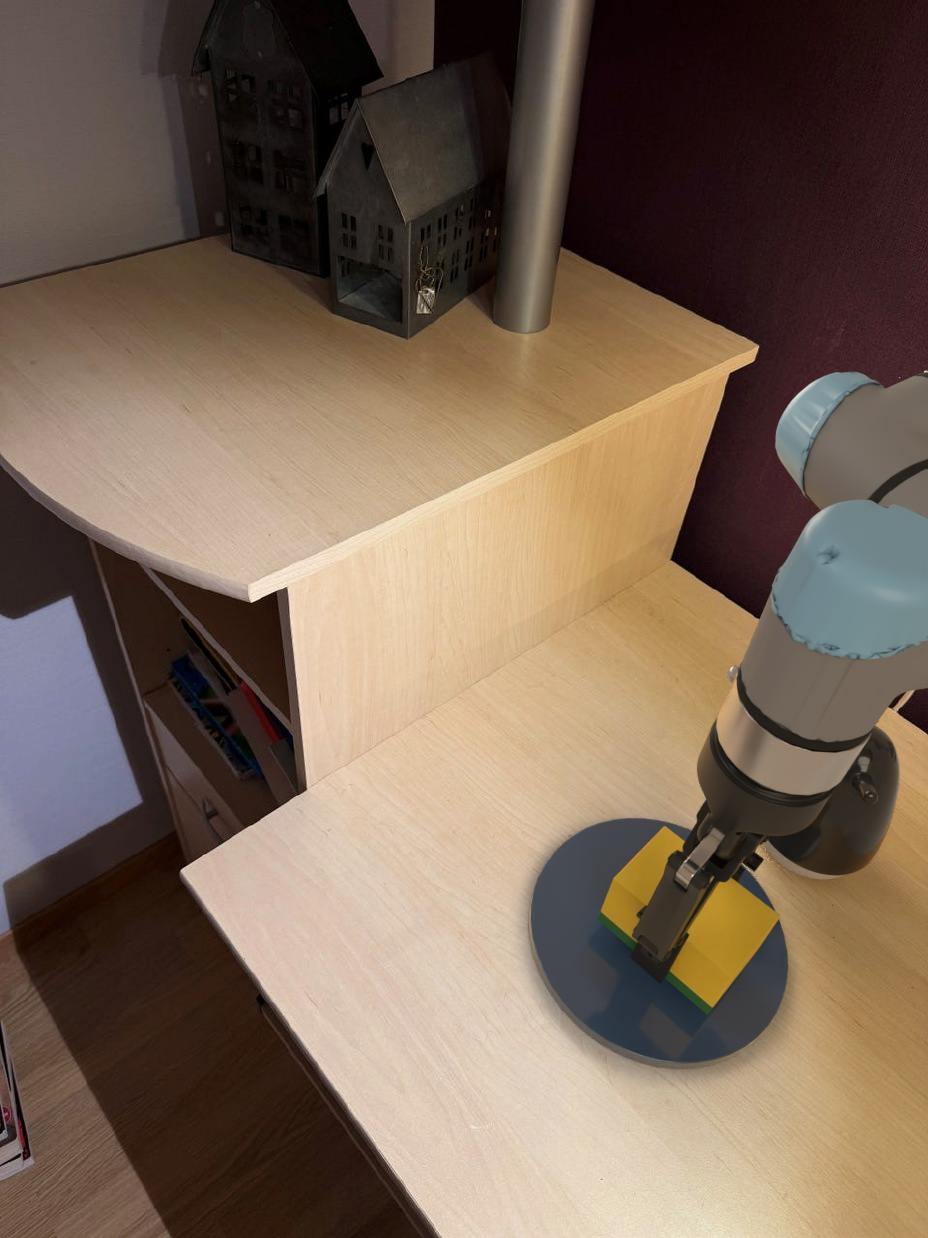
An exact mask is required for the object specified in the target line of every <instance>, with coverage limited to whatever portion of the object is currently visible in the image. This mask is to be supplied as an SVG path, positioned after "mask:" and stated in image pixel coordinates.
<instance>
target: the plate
mask: <svg viewBox="0 0 928 1238" xmlns="http://www.w3.org/2000/svg"><path fill="white" fill-rule="evenodd" d="M664 826H666V827H667V828H668V829H669V830H671V831H672V832H673V833H675V834H676V835H677V836H678V837H680V838H681V839H682V840H684V841H686V839H687V837H688V836H689V834H690V833H691V831H692V829H690V828H688V827H684V826H681V825H678V824H676V823H673V822H668V821H665V820H659V819H653V818H647V817H646V818H645V817H624V818H615V819H609V820H605V821H601V822H597V823H594V824H593V825H592V824H591V825H590V826H587V827H584V828H583V829H581V830H580V831H578V832H576V833H574V834H572V835H571V836H570V837H568V838H567V839H566V840H565V841H563V842H562V843H560V845H558V846H557V848H556V849H555V850H554V851H552V853H551V855H550V856H549V857H548V859H547V860H546V862H545V863H543V867H542V868H541V870H540V872H539V874H538V876H537V879H536V882H535V884H534V888H533V891H532V895H531V898H530V903H529V904H530V905H529V911H528V933H529V934H528V935H529V943H530V948H531V952H532V957H533V959H534V962H535V966H536V969H537V971H538V973H539V975H540V978H541V979H542V981H543V983H544V985H545V987H546V989H547V991H548V993H549V994H550V996H551V997H552V998H553V1000H554V1001H555V1002H556V1004H557V1005H558V1008H560V1009H561V1011H562V1012H563V1013H564V1014H565V1015H566V1016H567V1017H568V1018H569V1019H570V1021H571V1022H572V1023H573V1024H574V1025H576V1026H577V1027H578V1028H579V1029H580V1030H581V1031H582V1032H583V1033H584V1034H586V1035H587V1036H588V1037H590V1038H591V1039H592V1040H594V1041H595V1042H597V1043H598V1044H600V1045H601V1046H603V1047H604V1048H606V1049H608V1050H610V1051H612V1052H614V1053H615V1054H617V1055H618V1056H621V1057H624V1058H626V1059H629V1060H631V1061H634V1062H636V1063H639V1064H644V1065H646V1066H647V1065H648V1066H652V1067H656V1068H664V1069H672V1070H689V1069H690V1070H692V1069H693V1070H694V1069H698V1068H706V1067H710V1066H713V1065H716V1064H719V1063H722V1062H726V1061H728V1060H729V1059H732V1058H733V1057H735V1056H737V1055H739V1054H741V1053H742V1052H744V1051H745V1050H746V1049H747V1048H749V1047H750V1046H751V1045H753V1044H754V1043H755V1041H756V1040H757V1039H759V1038H760V1036H761V1035H762V1034H763V1033H764V1032H765V1031H766V1029H767V1028H768V1027H769V1026H770V1024H771V1023H772V1021H773V1020H774V1018H775V1016H776V1015H777V1013H778V1011H779V1008H780V1007H781V1004H782V1001H783V999H784V997H785V991H786V988H787V984H788V975H789V974H788V973H789V960H788V959H789V958H788V947H787V942H786V937H785V933H784V930H783V927H782V924H781V920H780V918H779V919H778V921H777V922H776V924H775V925H774V927H773V928H772V930H771V931H770V933H769V934H768V936H767V937H766V939H765V940H764V941H763V943H762V944H761V946H760V947H759V949H758V950H757V952H756V953H755V955H754V956H753V957H752V959H751V960H750V961H749V963H748V964H747V965H746V966H745V968H744V969H743V970H742V972H741V973H740V974H739V975H738V977H737V978H736V979H735V981H734V982H733V983H732V984H731V986H730V987H729V988H728V990H727V991H726V992H725V994H724V995H723V996H722V997H721V999H720V1000H719V1001H718V1003H717V1004H716V1005H715V1006H714V1008H713V1009H712V1010H711V1012H710V1013H709V1014H708V1015H707V1014H706V1013H704V1012H703V1011H702V1010H701V1009H700V1008H699V1007H697V1006H696V1005H695V1004H694V1003H693V1002H692V1001H691V1000H689V999H688V998H687V997H686V996H685V995H684V994H683V993H681V992H680V991H679V990H678V989H677V988H676V987H674V986H673V985H672V984H671V983H670V982H669V981H668V980H666V979H664V980H663V981H662V982H661V983H660V984H659V983H658V982H657V981H656V980H655V979H654V978H653V977H651V976H650V975H649V974H648V973H647V972H646V971H645V970H644V969H642V968H641V967H640V966H639V965H638V964H637V963H636V962H634V961H633V960H632V959H631V958H630V957H631V955H632V953H633V950H632V949H631V948H630V947H628V946H627V945H626V944H625V943H624V942H623V941H622V940H620V939H619V938H618V937H617V936H616V935H615V934H614V933H612V932H611V931H610V930H609V929H608V928H607V927H605V926H604V925H603V924H602V923H601V922H600V921H599V920H598V916H599V913H600V911H601V909H602V906H603V904H604V901H605V899H606V896H607V894H608V891H609V888H610V886H611V883H612V881H613V878H614V877H615V876H616V875H617V874H618V873H619V872H620V871H621V870H622V869H623V868H624V867H625V866H626V865H627V864H628V863H629V862H630V861H631V860H632V859H633V858H634V857H635V856H636V855H637V854H638V853H639V852H640V851H641V850H642V849H643V848H644V847H645V846H646V845H647V843H648V842H649V841H650V840H651V839H652V838H653V837H654V836H655V835H656V834H657V833H658V832H659V831H660V830H661V829H662V828H663V827H664ZM740 866H741V867H743V868H744V869H745V871H744V872H743V874H742V876H741V877H740V879H739V881H738V883H739V884H740V885H742V886H743V887H744V888H745V889H747V890H748V891H749V892H751V893H752V894H753V895H754V896H756V897H757V898H758V899H760V900H761V901H762V902H764V903H765V904H766V905H767V906H769V907H770V908H771V909H773V910H774V911H775V912H776V913H777V911H776V909H775V907H774V904H773V903H772V901H771V899H770V898H769V896H768V894H767V893H766V891H765V890H764V888H763V886H762V885H761V884H760V883H759V882H758V880H757V879H756V877H755V876H754V875H753V874H752V873H751V872H750V871H749V870H748V869H747V867H746V866H745V865H744V864H743V863H742V864H741V865H740Z"/></svg>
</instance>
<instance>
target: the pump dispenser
mask: <svg viewBox="0 0 928 1238" xmlns="http://www.w3.org/2000/svg"><path fill="white" fill-rule="evenodd" d="M899 759H900V758H899V755H898V752H897V748H896V746H895V744H894V742H893V740H892V738H891V737H890V736H889V734H887V733H886V731H884V730H883V729H881V728H880V727H879V726H877V725H875V727H874V728H873V730H872V733H871V736H870V738H869V740H868V741H867V743H866V744H865V746H864V747H863V749H862V750H861V752H860V753H859V755H858V756H857V758H856V759H855V761H854V762H853V764H852V765H851V767H850V769H849V770H848V772H847V773H846V775H845V776H844V777H843V779H842V780H841V782H840V783H839V784H837V786H836V788H835V790H834V791H833V793H832V794H831V796H830V798H829V799H828V801H827V802H826V804H825V805H824V807H823V808H822V810H821V812H820V813H819V815H818V816H817V818H816V819H815V820H814V821H813V822H812V823H811V824H810V825H809V826H808V827H806V828H805V829H803V830H801V831H799V832H796V833H793V834H789V835H783V836H769V839H768V840H767V842H766V843H765V842H764V843H763V844H762V845H763V846H764V848H765V849H766V851H767V852H768V854H769V855H770V857H772V859H774V860H775V861H776V862H777V863H778V864H779V865H781V866H782V867H783V868H785V869H787V871H790V872H792V873H794V874H796V875H798V876H801V877H804V878H809V879H813V880H832V879H838V878H841V877H845V876H846V875H851V874H855V873H857V872H859V871H861V870H863V869H865V867H867V866H868V865H869V864H870V863H871V862H872V861H873V860H874V858H875V857H876V856H877V854H878V852H879V851H880V849H881V847H882V845H883V843H884V841H885V839H886V836H887V833H888V831H889V829H890V826H891V824H892V820H893V816H894V814H895V810H896V805H897V800H898V795H899V789H900V783H901V782H900V779H901V770H900V769H901V767H900V760H899Z"/></svg>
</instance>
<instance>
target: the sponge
mask: <svg viewBox="0 0 928 1238" xmlns="http://www.w3.org/2000/svg"><path fill="white" fill-rule="evenodd" d="M684 842H685V841H684V840H682V839H681V838H680V837H678V836H677V835H676V834H675V833H673V832H672V831H671V830H669V829H668V828H667V827H666V826H664V827H663V828H662V829H661V830H660V831H659V832H658V833H657V834H656V835H655V836H654V837H653V838H652V839H651V840H650V841H649V842H648V843H647V845H646V846H645V847H644V848H643V849H642V850H641V851H640V852H639V853H638V854H637V855H636V856H635V857H634V858H633V859H632V860H631V861H630V862H629V863H628V864H627V865H626V866H625V867H624V868H623V869H622V870H621V871H620V872H619V873H618V874H617V875H616V876H615V877H614V878H613V881H612V883H611V886H610V888H609V891H608V894H607V896H606V899H605V901H604V904H603V906H602V909H601V911H600V913H599V916H598V920H599V921H600V922H601V923H602V924H603V925H604V926H605V927H607V928H608V929H609V930H610V931H611V932H612V933H614V934H615V935H616V936H617V937H618V938H619V939H620V940H622V941H623V942H624V943H625V944H626V945H627V946H628V947H630V948H631V949H632V950H633V951H634V949H635V947H636V944H637V942H638V941H636V940H635V939H634V938H633V937H632V933H633V932H634V931H633V929H634V928H635V927H636V926H637V924H638V922H639V920H640V919H639V918H638V917H637V916H636V914H637V913H638V912H639V911H640V910H641V909H642V908H643V907H644V906H645V905H646V906H647V905H648V903H649V901H650V899H651V897H652V895H653V893H654V891H655V889H656V888H657V886H658V884H659V882H660V880H661V878H662V876H663V873H664V870H665V866H666V863H667V862H668V860H667V859H668V857H669V856H670V854H671V853H673V852H674V851H676V850H679V851H683V849H682V847H683V844H684ZM775 911H776V910H775ZM775 911H774V910H773V909H771V908H770V907H769V906H767V905H766V904H765V903H764V902H762V901H761V900H760V899H758V898H757V897H756V896H754V895H753V894H752V893H751V892H749V891H748V890H747V889H745V888H744V887H743V886H742V885H740V884H739V883H738V882H736V881H735V880H734V879H733V878H730V879H729V880H728V881H727V882H719V884H718V885H717V887H716V888H715V890H714V891H713V893H712V894H711V896H710V897H709V899H708V901H707V902H706V904H705V905H704V907H703V908H702V910H701V911H700V913H699V914H698V916H697V917H696V919H695V920H694V922H693V924H692V925H691V927H690V928H689V930H688V931H687V933H688V934H690V935H689V937H688V939H687V940H686V942H685V944H684V946H683V947H682V949H681V951H680V953H679V955H678V956H677V958H676V960H675V962H674V963H673V965H672V967H671V969H670V971H669V972H668V974H667V976H666V978H665V979H666V980H668V981H669V982H670V983H671V984H672V985H673V986H674V987H676V988H677V989H678V990H679V991H680V992H681V993H683V994H684V995H685V996H686V997H687V998H688V999H689V1000H691V1001H692V1002H693V1003H694V1004H695V1005H696V1006H697V1007H699V1008H700V1009H701V1010H702V1011H703V1012H704V1013H706V1014H707V1015H708V1014H709V1013H710V1012H711V1010H712V1009H713V1008H714V1006H715V1005H716V1004H717V1003H718V1001H719V1000H720V999H721V997H722V996H723V995H724V994H725V992H726V991H727V990H728V988H729V987H730V986H731V984H732V983H733V982H734V981H735V979H736V978H737V977H738V975H739V974H740V973H741V972H742V970H743V969H744V968H745V966H746V965H747V964H748V963H749V961H750V960H751V959H752V957H753V956H754V955H755V953H756V952H757V950H758V949H759V947H760V946H761V944H762V943H763V941H764V940H765V939H766V937H767V936H768V934H769V933H770V931H771V930H772V928H773V927H774V925H775V924H776V922H777V921H778V919H779V920H780V918H781V915H780V914H779V913H777V911H776V912H775Z"/></svg>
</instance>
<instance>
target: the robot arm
mask: <svg viewBox="0 0 928 1238" xmlns="http://www.w3.org/2000/svg"><path fill="white" fill-rule="evenodd" d="M774 438H775V445H774V448H775V450H776V454H777V456H778V459H779V460H780V462H781V464H782V466H784V468H785V469H786V471H787V472H788V474H789V475H790V476H791V478H792V480H793V481H794V482H795V483H796V484H797V486H798V488H799V489H800V490H801V493H802V495H803V497H805V498H806V499H807V501H811V502H813V504H815V506H817V508H819V510H820V511H819V512H817V513H815V514H814V515H813V516H812V517H811V518H810V519H809V520H808V522H807V523H806V525H805V526H804V528H803V529H802V531H801V533H800V535H799V537H798V539H797V541H796V542H795V544H794V546H793V548H792V550H791V551H790V553H789V555H788V556H787V558H786V560H785V561H783V562H782V563H781V565H780V567H779V568H778V570H777V571H776V574H775V577H774V580H773V582H772V585H771V587H772V588H771V591H770V594H769V596H768V597H767V598H768V599H767V601H766V603H765V606H764V608H763V611H762V613H761V615H760V618H759V620H758V623H757V624H756V627H755V629H754V632H753V634H752V637H751V639H750V642H749V644H748V646H747V648H746V651H745V654H744V656H743V658H742V660H741V662H740V664H739V666H738V665H732V666H731V667H729V668H728V669H727V670H726V673H725V678H726V680H727V681H728V682H730V683H731V684H732V685H731V687H730V689H729V692H728V693H727V694H726V697H725V699H724V701H723V703H722V705H721V706H720V707H721V708H720V710H719V713H718V715H717V717H716V718H715V720H714V721H713V723H712V725H711V728H710V730H709V732H708V734H707V736H706V738H705V741H704V743H703V746H702V747H701V750H700V752H699V755H698V758H697V763H696V774H697V780H698V783H699V786H700V790H701V791H702V793H703V796H704V798H705V800H704V802H703V803H702V805H701V806H700V807H699V809H698V811H697V813H696V816H695V817H696V823H695V824H694V826H693V828H691V830H692V831H691V833H690V834H689V836H688V837H687V839H686V841H685V842H684V844H683V847H682V849H683V851H679V850H676V851H674V852H673V853H671V854H670V856H669V857H668V859H667V860H668V862H667V863H666V866H665V870H664V873H663V876H662V878H661V880H660V882H659V884H658V886H657V888H656V889H655V891H654V893H653V895H652V897H651V899H650V901H649V903H648V905H647V906H646V905H645V906H644V907H643V908H642V909H641V910H640V911H639V912H638V913H637V914H636V916H637V917H638V918H639V919H640V920H639V922H638V924H637V926H636V927H635V928H634V929H633V931H634V932H633V933H632V937H633V938H634V939H635V940H636V941H638V942H637V944H636V947H635V949H634V951H633V953H632V955H631V957H630V958H631V959H632V960H633V961H634V962H636V963H637V964H638V965H639V966H640V967H641V968H642V969H644V970H645V971H646V972H647V973H648V974H649V975H650V976H651V977H653V978H654V979H655V980H656V981H657V982H658V983H659V984H660V983H661V982H662V981H663V980H664V979H665V978H666V976H667V974H668V972H669V971H670V969H671V967H672V965H673V963H674V962H675V960H676V958H677V956H678V955H679V953H680V951H681V949H682V947H683V946H684V944H685V942H686V940H687V939H688V937H689V935H690V934H688V933H687V931H688V930H689V928H690V927H691V925H692V924H693V922H694V920H695V919H696V917H697V916H698V914H699V913H700V911H701V910H702V908H703V907H704V905H705V904H706V902H707V901H708V899H709V897H710V896H711V894H712V893H713V891H714V890H715V888H716V887H717V885H718V884H719V882H727V881H728V880H729V879H730V878H733V879H734V880H735V881H736V882H738V881H739V879H740V877H741V876H742V874H743V872H744V871H745V869H744V868H743V867H741V866H740V865H741V864H742V865H743V866H745V867H746V868H748V869H750V871H752V872H754V873H756V871H758V869H759V867H760V866H761V865H762V863H763V862H764V861H765V858H764V857H762V856H761V855H760V854H759V853H757V849H758V848H759V847H760V846H762V845H763V843H764V842H765V843H766V842H767V840H768V839H769V836H783V835H789V834H793V833H796V832H799V831H801V830H803V829H805V828H806V827H808V826H809V825H810V824H811V823H812V822H813V821H814V820H815V819H816V818H817V816H818V815H819V813H820V812H821V810H822V808H823V807H824V805H825V804H826V802H827V801H828V799H829V798H830V796H831V794H832V793H833V791H834V790H835V788H836V786H837V784H839V783H840V782H841V780H842V779H843V777H844V776H845V775H846V773H847V772H848V770H849V769H850V767H851V765H852V764H853V762H854V761H855V759H856V758H857V756H858V755H859V753H860V752H861V750H862V749H863V747H864V746H865V744H866V743H867V741H868V740H869V738H870V736H871V733H872V730H873V728H874V727H875V726H877V723H879V722H880V719H881V718H882V716H883V715H884V713H886V710H887V709H888V708H889V707H890V705H891V704H892V702H893V701H894V700H895V698H897V697H899V696H900V695H901V694H904V693H907V692H912V691H918V690H924V689H928V369H926V370H924V371H922V372H921V373H918V374H915V375H913V376H911V377H908V378H906V379H904V380H902V381H899V382H897V383H895V384H893V385H891V386H889V387H886V388H885V387H884V386H883V385H882V383H881V382H879V381H878V380H877V379H871V378H870V377H868V376H867V375H865V374H863V373H861V372H858V371H847V372H839V371H836V372H832V373H829V374H826V375H823V376H822V377H820V378H817V379H815V380H814V381H812V382H811V383H809V384H808V385H807V386H806V387H804V388H803V389H802V390H801V391H800V392H798V393H797V394H796V395H795V397H793V398H792V400H791V401H790V402H789V404H788V405H787V407H786V408H785V409H784V411H783V413H782V415H781V416H780V419H779V421H778V423H777V427H776V430H775V437H774Z"/></svg>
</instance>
